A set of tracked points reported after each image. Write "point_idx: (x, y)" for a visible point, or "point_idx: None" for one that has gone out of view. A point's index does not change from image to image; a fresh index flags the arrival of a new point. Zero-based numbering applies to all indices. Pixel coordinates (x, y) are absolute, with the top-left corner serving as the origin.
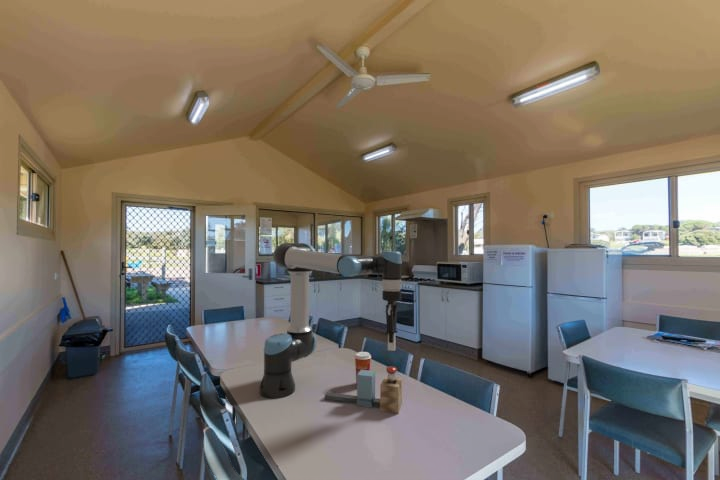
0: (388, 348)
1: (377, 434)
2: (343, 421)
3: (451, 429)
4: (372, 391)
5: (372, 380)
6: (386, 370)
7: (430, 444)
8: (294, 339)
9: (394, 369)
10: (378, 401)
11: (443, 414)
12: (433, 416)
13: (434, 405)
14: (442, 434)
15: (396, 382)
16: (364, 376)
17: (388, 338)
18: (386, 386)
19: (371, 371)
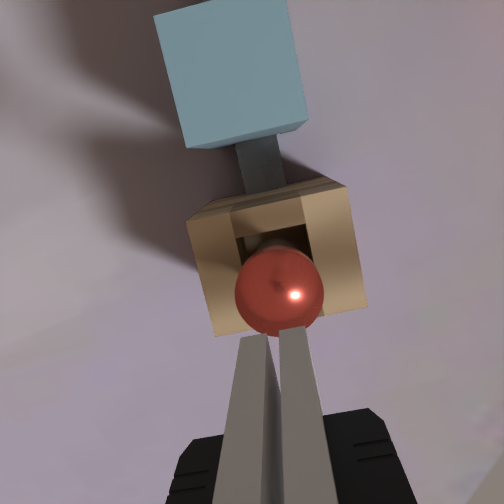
0: (241, 357)
1: (29, 272)
2: (30, 88)
3: None
4: (225, 143)
5: (214, 143)
6: (257, 252)
7: (82, 456)
8: None
9: (260, 328)
10: (248, 174)
11: None
12: None
13: (390, 401)
14: (167, 476)
15: None
16: (171, 85)
17: (225, 454)
18: (197, 261)
19: (285, 92)
